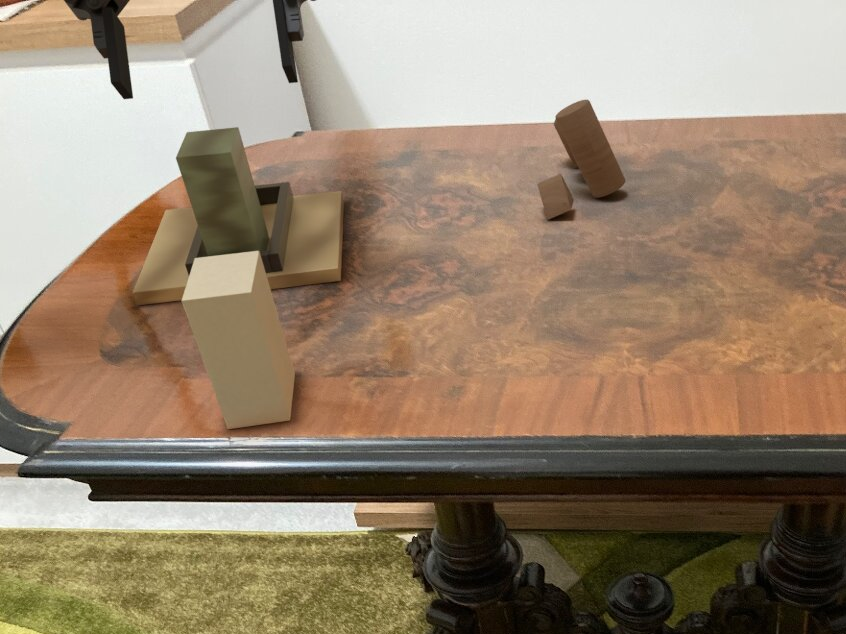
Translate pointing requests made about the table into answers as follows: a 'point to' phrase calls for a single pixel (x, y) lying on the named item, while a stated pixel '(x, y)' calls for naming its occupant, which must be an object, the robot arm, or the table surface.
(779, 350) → the table surface
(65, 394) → the table surface
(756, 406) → the table surface
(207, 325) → the cream back pad
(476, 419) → the table surface
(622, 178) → the wooden block set
